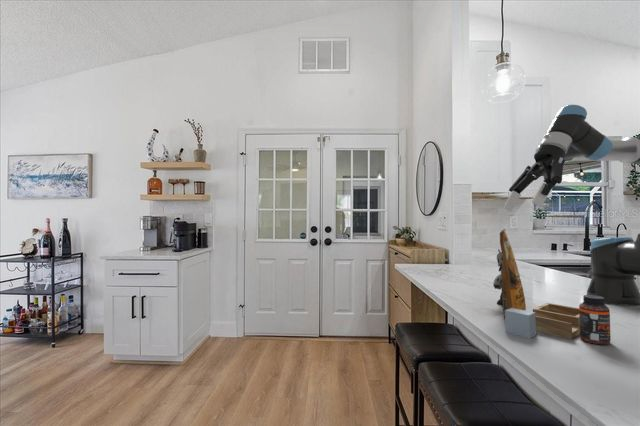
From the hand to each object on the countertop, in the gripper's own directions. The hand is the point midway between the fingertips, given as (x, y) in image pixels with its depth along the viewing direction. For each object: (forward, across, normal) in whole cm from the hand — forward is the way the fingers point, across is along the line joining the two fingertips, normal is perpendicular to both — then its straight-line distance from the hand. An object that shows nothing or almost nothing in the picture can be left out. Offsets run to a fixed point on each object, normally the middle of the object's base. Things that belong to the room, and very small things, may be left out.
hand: (520, 207), depth 98 cm
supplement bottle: (+27, +14, +25) cm, 39 cm away
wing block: (+34, +7, +13) cm, 37 cm away
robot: (+25, -22, +23) cm, 41 cm away
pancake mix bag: (+29, -9, +19) cm, 35 cm away
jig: (+26, +3, +24) cm, 36 cm away
